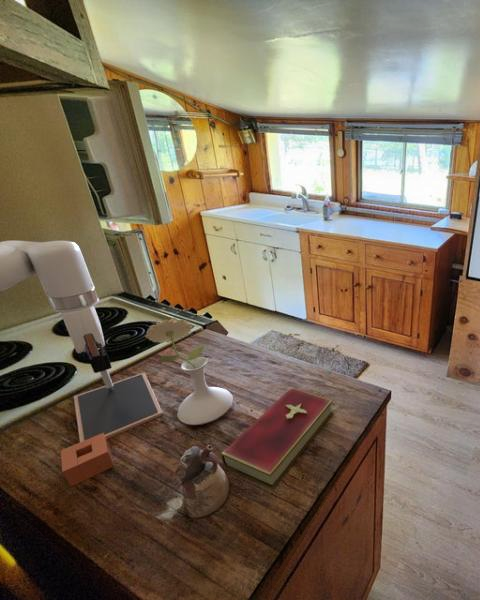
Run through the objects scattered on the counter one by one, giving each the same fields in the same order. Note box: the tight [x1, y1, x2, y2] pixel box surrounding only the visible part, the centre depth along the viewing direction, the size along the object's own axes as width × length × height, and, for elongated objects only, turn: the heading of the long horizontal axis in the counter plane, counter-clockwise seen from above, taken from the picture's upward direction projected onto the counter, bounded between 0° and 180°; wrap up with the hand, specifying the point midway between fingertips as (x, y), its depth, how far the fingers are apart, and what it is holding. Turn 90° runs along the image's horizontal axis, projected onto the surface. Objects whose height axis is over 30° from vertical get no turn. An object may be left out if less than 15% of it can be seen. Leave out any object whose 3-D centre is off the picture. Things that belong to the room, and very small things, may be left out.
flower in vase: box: [144, 317, 234, 426], centre depth 71 cm, size 13×11×25 cm
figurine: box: [175, 444, 230, 519], centre depth 56 cm, size 7×7×12 cm
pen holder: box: [60, 433, 115, 487], centre depth 62 cm, size 6×6×4 cm
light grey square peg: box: [97, 348, 114, 390], centre depth 78 cm, size 1×1×12 cm
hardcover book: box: [220, 386, 334, 490], centre depth 70 cm, size 12×21×4 cm, turn 159°
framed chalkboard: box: [73, 372, 164, 443], centre depth 77 cm, size 14×20×1 cm
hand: (102, 367), depth 78 cm, fingers closed on light grey square peg, 1 cm apart
